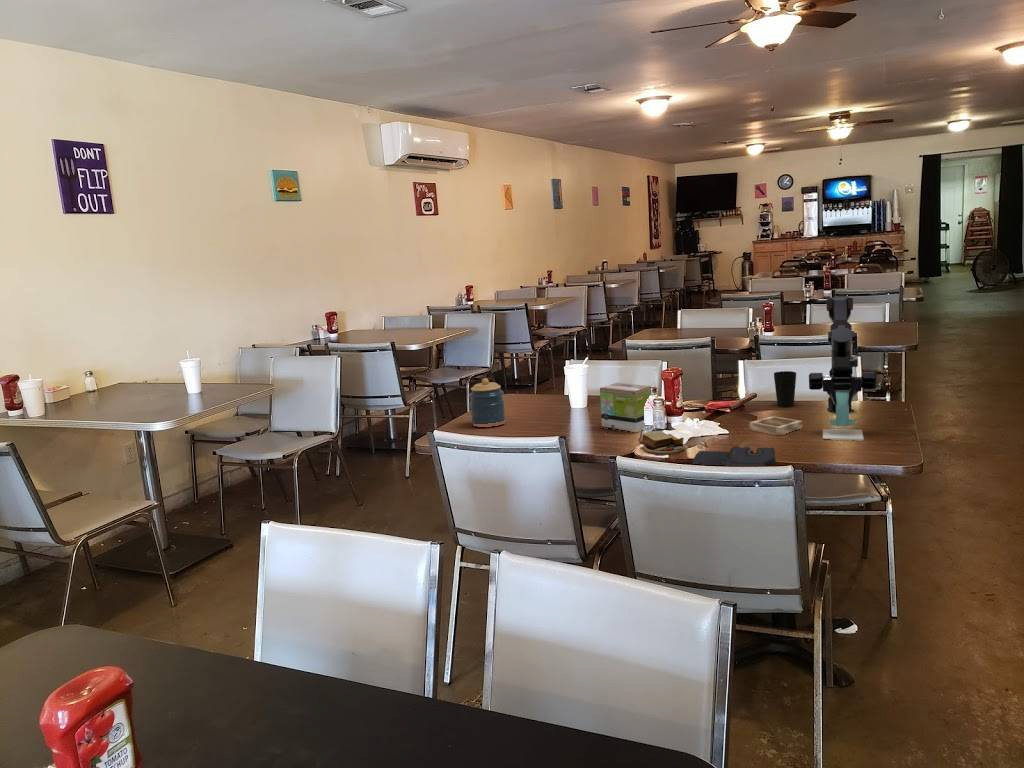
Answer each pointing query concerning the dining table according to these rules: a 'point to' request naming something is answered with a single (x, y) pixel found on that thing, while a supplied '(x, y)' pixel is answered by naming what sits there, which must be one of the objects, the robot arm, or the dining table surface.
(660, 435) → the toy sandwich meal
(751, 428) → the socket collar
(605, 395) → the tea box
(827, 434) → the mat
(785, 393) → the cup
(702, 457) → the dark slate chunk
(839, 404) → the t key
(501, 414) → the canister
